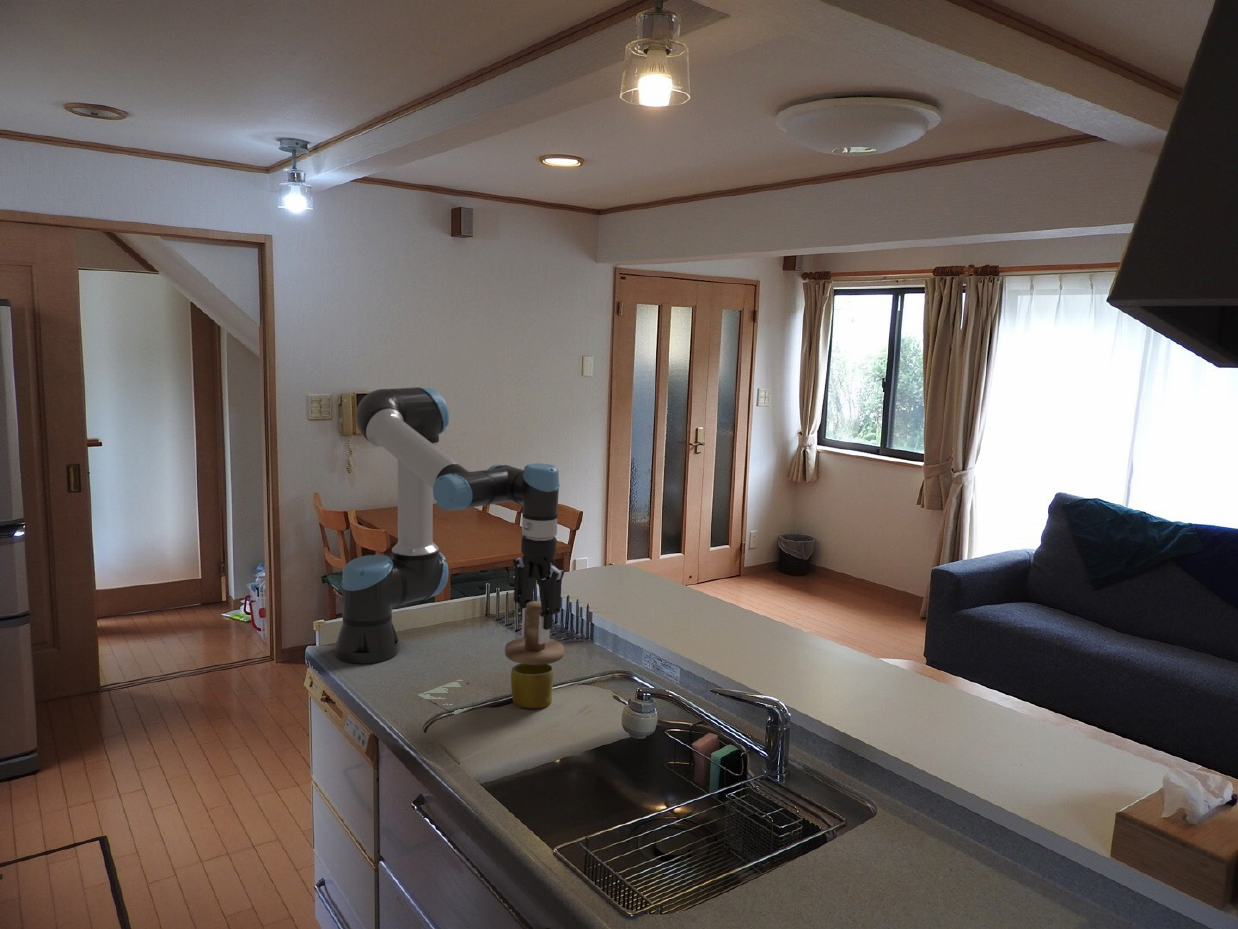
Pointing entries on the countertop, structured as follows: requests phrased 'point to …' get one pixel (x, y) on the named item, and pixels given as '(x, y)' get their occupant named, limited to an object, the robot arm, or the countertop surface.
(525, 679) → the mug
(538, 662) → the wooden peg stand
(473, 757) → the countertop surface
